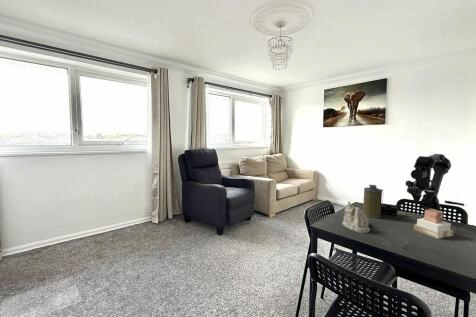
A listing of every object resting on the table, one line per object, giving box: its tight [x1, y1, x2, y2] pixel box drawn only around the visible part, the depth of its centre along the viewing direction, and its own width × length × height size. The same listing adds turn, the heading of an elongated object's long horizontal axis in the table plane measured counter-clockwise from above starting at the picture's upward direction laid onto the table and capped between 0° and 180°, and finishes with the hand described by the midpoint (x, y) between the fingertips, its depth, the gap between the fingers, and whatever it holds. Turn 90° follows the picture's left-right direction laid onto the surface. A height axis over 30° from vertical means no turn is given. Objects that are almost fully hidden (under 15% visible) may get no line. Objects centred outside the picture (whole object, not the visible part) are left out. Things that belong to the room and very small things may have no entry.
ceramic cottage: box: [341, 200, 371, 234], centre depth 135 cm, size 16×16×15 cm
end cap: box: [380, 202, 399, 218], centre depth 155 cm, size 10×7×7 cm
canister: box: [362, 184, 384, 219], centre depth 152 cm, size 11×10×20 cm
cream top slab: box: [416, 217, 451, 232], centre depth 126 cm, size 10×10×4 cm
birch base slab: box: [413, 223, 455, 240], centre depth 127 cm, size 12×12×4 cm
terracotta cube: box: [423, 209, 444, 223], centre depth 126 cm, size 6×6×6 cm
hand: (421, 204), depth 138 cm, fingers open, 9 cm apart
